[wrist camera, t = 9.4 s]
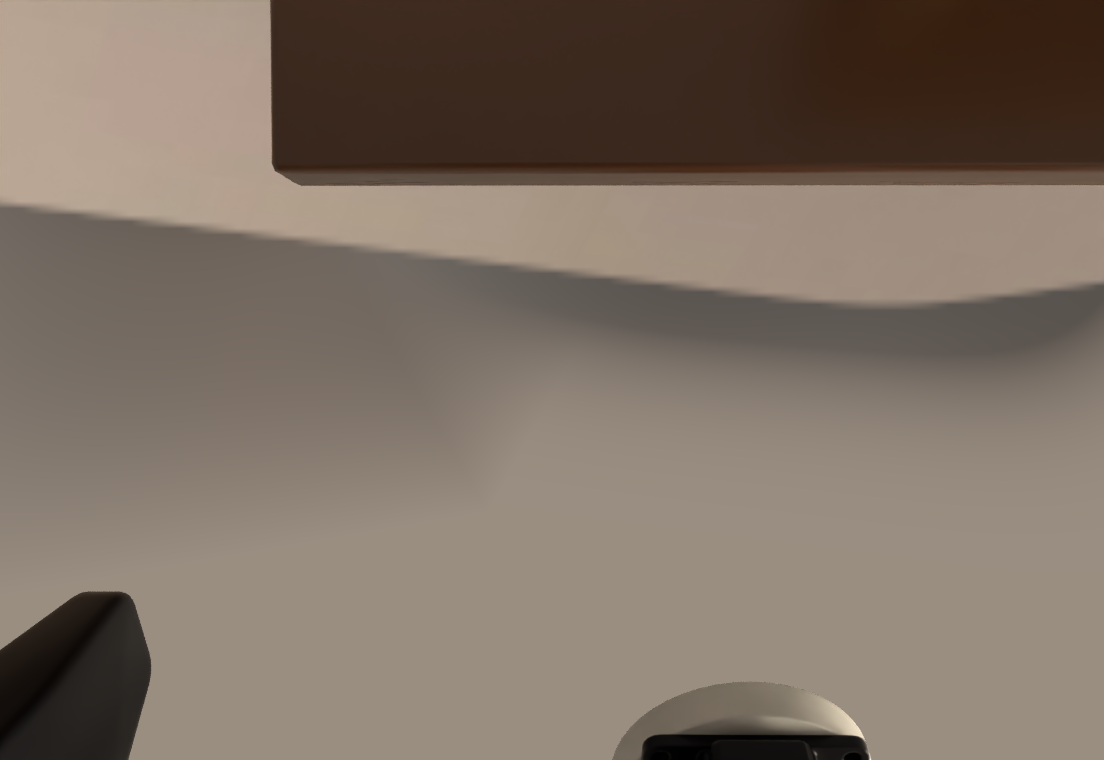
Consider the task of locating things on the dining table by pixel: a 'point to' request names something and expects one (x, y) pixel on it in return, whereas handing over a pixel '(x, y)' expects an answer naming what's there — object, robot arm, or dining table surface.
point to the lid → (688, 92)
